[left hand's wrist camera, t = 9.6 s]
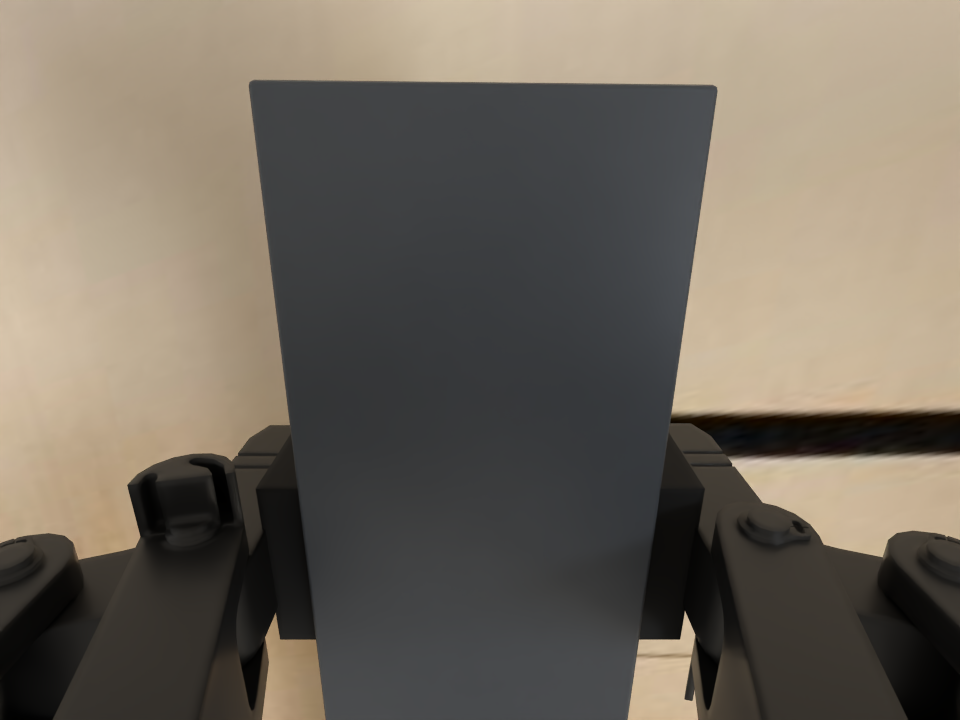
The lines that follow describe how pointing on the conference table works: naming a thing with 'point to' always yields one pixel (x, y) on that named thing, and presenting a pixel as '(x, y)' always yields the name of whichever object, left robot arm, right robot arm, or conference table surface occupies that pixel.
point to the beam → (479, 377)
